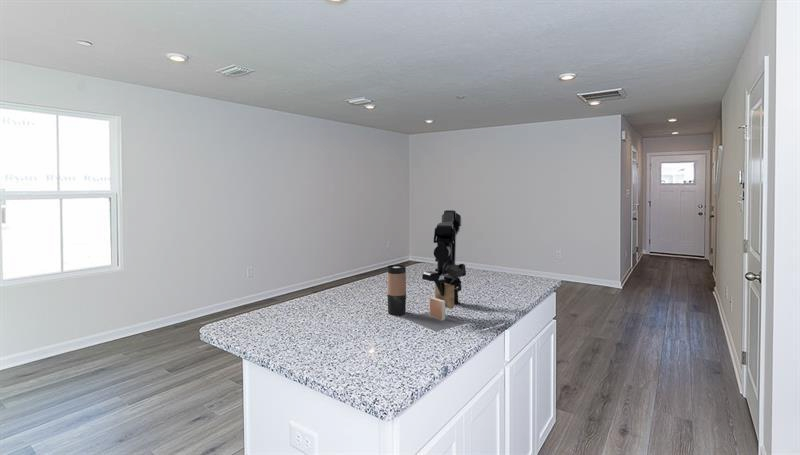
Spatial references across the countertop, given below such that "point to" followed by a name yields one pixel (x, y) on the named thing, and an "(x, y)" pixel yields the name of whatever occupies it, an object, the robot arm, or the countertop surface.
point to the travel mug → (396, 289)
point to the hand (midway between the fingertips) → (444, 295)
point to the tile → (437, 308)
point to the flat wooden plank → (446, 295)
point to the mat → (435, 321)
